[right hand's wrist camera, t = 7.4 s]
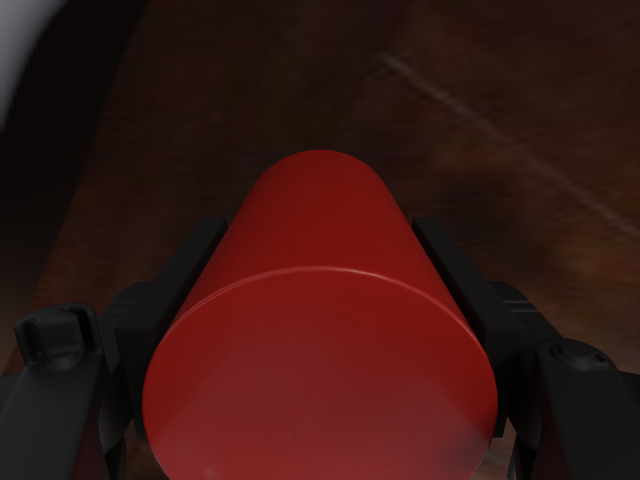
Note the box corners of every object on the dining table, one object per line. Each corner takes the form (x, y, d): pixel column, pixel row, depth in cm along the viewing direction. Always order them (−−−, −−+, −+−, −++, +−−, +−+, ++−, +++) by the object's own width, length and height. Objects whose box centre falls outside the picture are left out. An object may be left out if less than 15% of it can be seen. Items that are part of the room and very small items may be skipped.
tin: (407, 275, 18) (512, 515, 8) (268, 305, 18) (211, 565, 9) (380, 131, 16) (480, 225, 6) (223, 171, 16) (76, 315, 6)
